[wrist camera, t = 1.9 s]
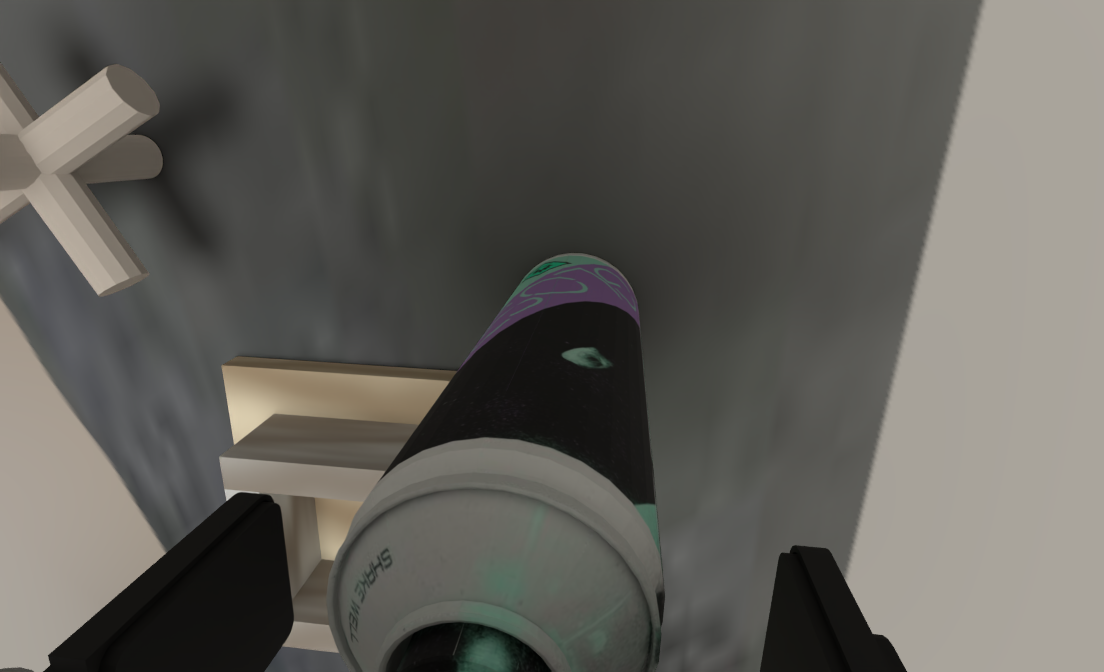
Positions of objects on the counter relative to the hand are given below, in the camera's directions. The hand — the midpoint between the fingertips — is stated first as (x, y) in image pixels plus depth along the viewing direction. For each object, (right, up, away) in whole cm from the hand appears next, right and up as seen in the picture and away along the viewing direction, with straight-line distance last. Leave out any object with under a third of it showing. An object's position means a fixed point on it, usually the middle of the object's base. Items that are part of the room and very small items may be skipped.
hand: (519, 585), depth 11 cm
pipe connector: (-17, +12, +15) cm, 26 cm away
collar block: (-8, -3, +19) cm, 21 cm away
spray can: (+2, +6, +15) cm, 16 cm away
